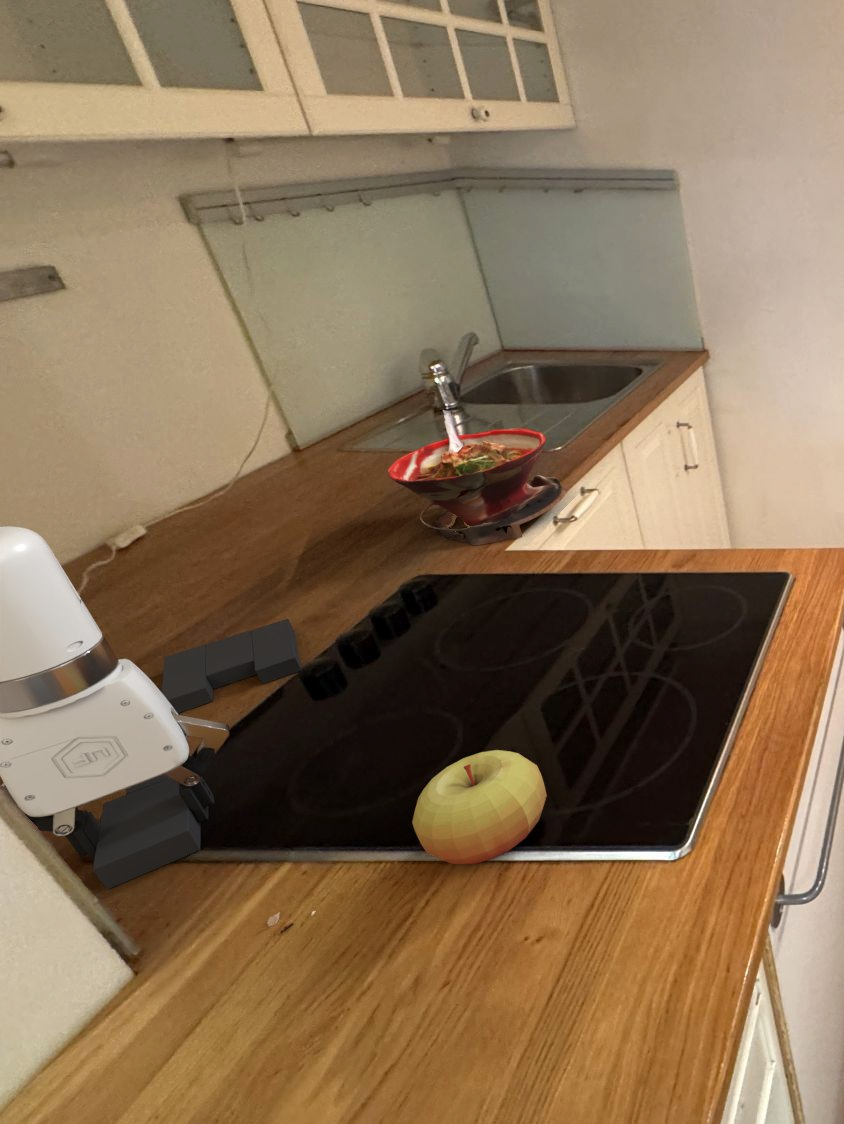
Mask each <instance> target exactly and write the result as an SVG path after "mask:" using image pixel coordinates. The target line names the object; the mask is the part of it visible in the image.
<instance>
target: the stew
mask: <svg viewBox="0 0 844 1124" xmlns="http://www.w3.org/2000/svg"><path fill="white" fill-rule="evenodd" d="M442 412H443V418H444V421H443V424H444V428H445V429H446V434H447V436H446V437H445V438H443V439H442V440H438V441H436V442H433V443H430V444H426V445H424V446H423V447H420V448H418V449H416V450H414V451H411V452H409V453H406V454H404V455H403V456H401V457H399V458H397V460H395V461H394V462H393V463H391V465H390V466H389V467H388V469H387V476H388V477H389V478H390V479H391V480H392V481H394V482H395V483H397V484H399V485H401V486H403V487H405V488H406V489H408V490H410V491H411V492H413V493H414V494H416V495H418V496H420V497H422V498H424V499H426V500H428V502H429V504H428V505H427V506H426V507H425V508H424V509H423V510H422V511H421V513H420V515H419V521H420V523H421V524H422V525H423V526H424V527H426V528H429V529H431V530H433V531H437V532H438V533H437V534H439V533H440V534H439V535H441V534H442V535H441V536H442V537H443V536H444V537H443V538H446V539H450V538H452V539H454V540H453V541H456V540H459V541H460V542H459V541H458V542H459V543H469V545H470V546H481V545H486V544H492V543H496V542H502V541H506V540H509V539H510V540H511V539H519V538H523V533H522V530H521V527H520V525H522V524H524V523H527V522H530V521H531V520H533V519H535V518H537V517H539V516H542V515H543V514H545V513H546V512H548V511H550V510H551V509H553V508H554V507H555V506H557V505H558V504H559V503H560V502H561V501H562V500H563V499H564V498H565V496H566V494H567V493H568V492H567V490H566V489H564V488H563V487H562V485H561V483H560V481H559V480H558V479H557V478H556V476H544V475H539V474H537V475H535V476H534V477H533V478H532V479H529V478H530V475H531V472H532V470H533V468H534V467H535V465H536V463H537V462H538V459H539V458H540V457H541V455H542V451H543V449H544V446H545V444H546V442H547V437H546V435H545V434H544V432H543V433H542V432H541V431H537V430H535V429H530V428H527V427H526V428H522V427H521V428H520V427H513V428H512V427H511V428H501V429H500V428H499V429H498V428H495V429H490V430H485V431H482V432H481V431H480V432H476V433H470V434H463V435H459V434H458V431H457V430H456V428H455V427H456V426H455V422H454V419H453V415H452V410H445V409H442ZM432 506H436V507H437V506H439V507H440V508H442V509H444V510H446V511H445V512H444V514H442V515H441V516H440V517H439V518H438V520H433V521H432V523H433V526H432V525H431V524H429V523H427V522H426V521H425V519H424V517H423V514H424V512H426V511H427V510H428V509H430V507H432ZM453 514H455V515H456V516H458V518H460V519H461V520H462V522H463V521H464V522H465V523H466V524H467V525H469V526H472V527H470V528H465V527H464V528H463V527H462V528H458V529H455V528H453V529H449V528H447V526H446V525H449V524H450V523H451V522H452V518H453V517H452V516H454V515H453ZM464 522H463V523H464ZM452 523H453V522H452ZM503 527H507V529H506V530H505V529H504V528H503ZM498 529H499V530H498ZM455 531H456V532H455ZM458 531H459V532H458ZM447 537H448V538H447ZM449 537H450V538H449ZM452 539H451V540H452Z"/></svg>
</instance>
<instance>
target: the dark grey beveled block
mask: <svg viewBox="0 0 844 1124" xmlns="http://www.w3.org/2000/svg"><path fill="white" fill-rule="evenodd" d="M201 823H202V822H200V821H199V822H197V820H196V819H195V817H194V816H193V814H192V812H191V811H190V809H189V808H188V807H187V806H186V804H185V802H184V801H183V799H182V798H181V796H180V794H179V782H177V781H175V780H173V779H171V778H169V777H168V776H166V775H164V774H163V775H161V776H158V777H155V778H153V779H150V780H148V781H145V782H142V783H140V784H137V785H134V786H132V787H129V788H127V789H126V792H125V794H124V795H121V796H119V797H117V798H114V799H111V800H109V801H106V802H104V803H103V805H102V810H101V816H100V821H99V824H100V829H99V835H98V841H97V847H96V853H95V859H94V861H93V865H92V867H93V868H92V871H93V872H94V874H95V875H96V876H97V878H98V879H99V881H100V882H101V883H102V885H103V886H104V887H105V888H106V889H107V890H110V889H112V888H115V887H117V886H119V885H122V884H124V883H127V882H129V881H132V880H133V879H137V878H138V877H141V876H143V875H145V874H148V873H150V872H152V871H154V870H157V869H160V868H162V867H164V866H167V865H169V864H171V863H173V862H176V861H178V860H181V859H183V858H185V857H188V856H190V855H192V854H195V853H196V851H197V852H200V851H201V835H202V834H201V833H202V831H201ZM194 852H195V853H194ZM191 853H192V854H191ZM189 854H190V855H189ZM187 855H188V856H187Z"/></svg>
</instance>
